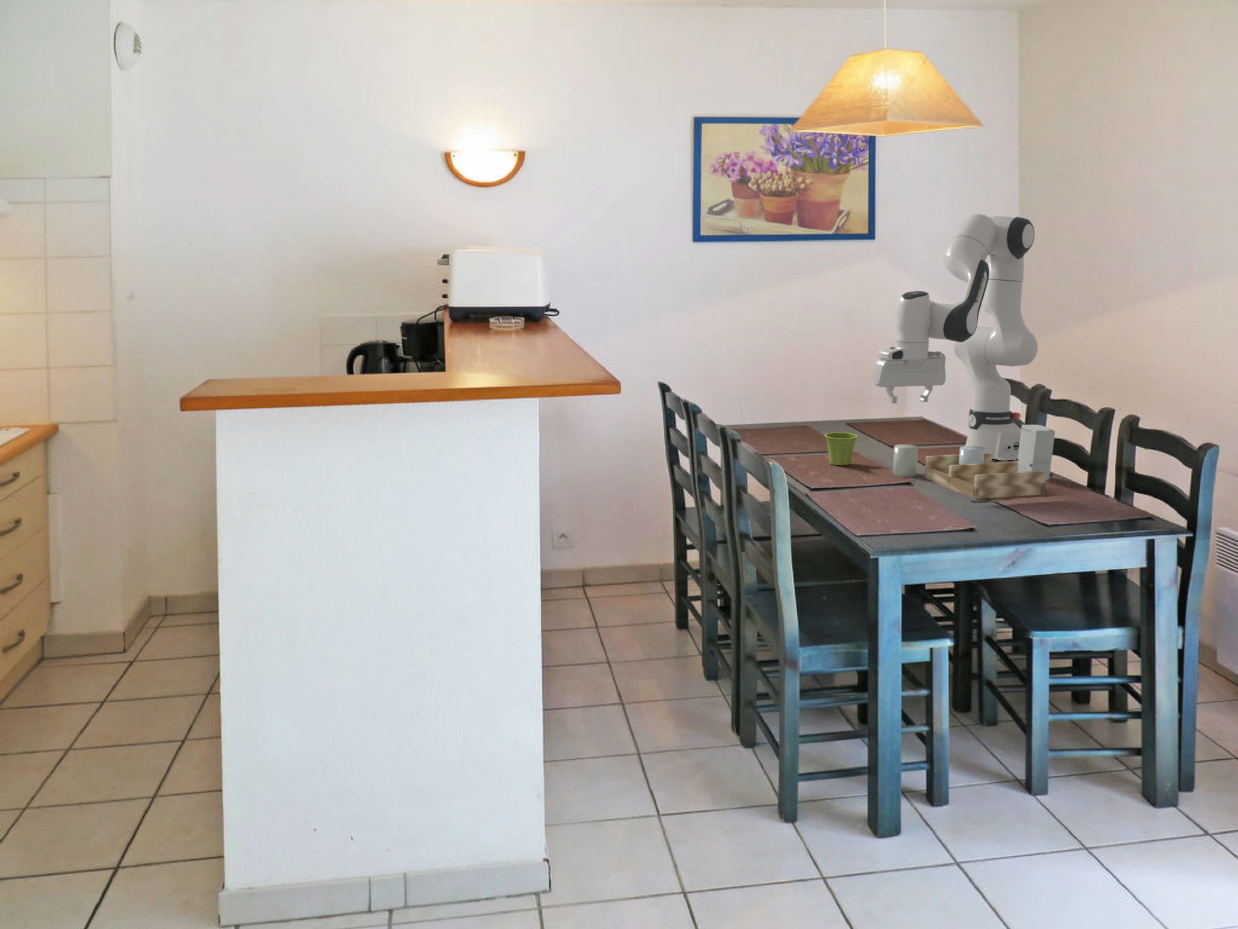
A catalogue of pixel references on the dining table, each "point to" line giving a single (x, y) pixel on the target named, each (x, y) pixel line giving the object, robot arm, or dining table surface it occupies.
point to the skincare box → (1035, 449)
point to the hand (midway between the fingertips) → (908, 402)
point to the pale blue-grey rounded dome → (971, 455)
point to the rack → (984, 478)
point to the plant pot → (840, 447)
